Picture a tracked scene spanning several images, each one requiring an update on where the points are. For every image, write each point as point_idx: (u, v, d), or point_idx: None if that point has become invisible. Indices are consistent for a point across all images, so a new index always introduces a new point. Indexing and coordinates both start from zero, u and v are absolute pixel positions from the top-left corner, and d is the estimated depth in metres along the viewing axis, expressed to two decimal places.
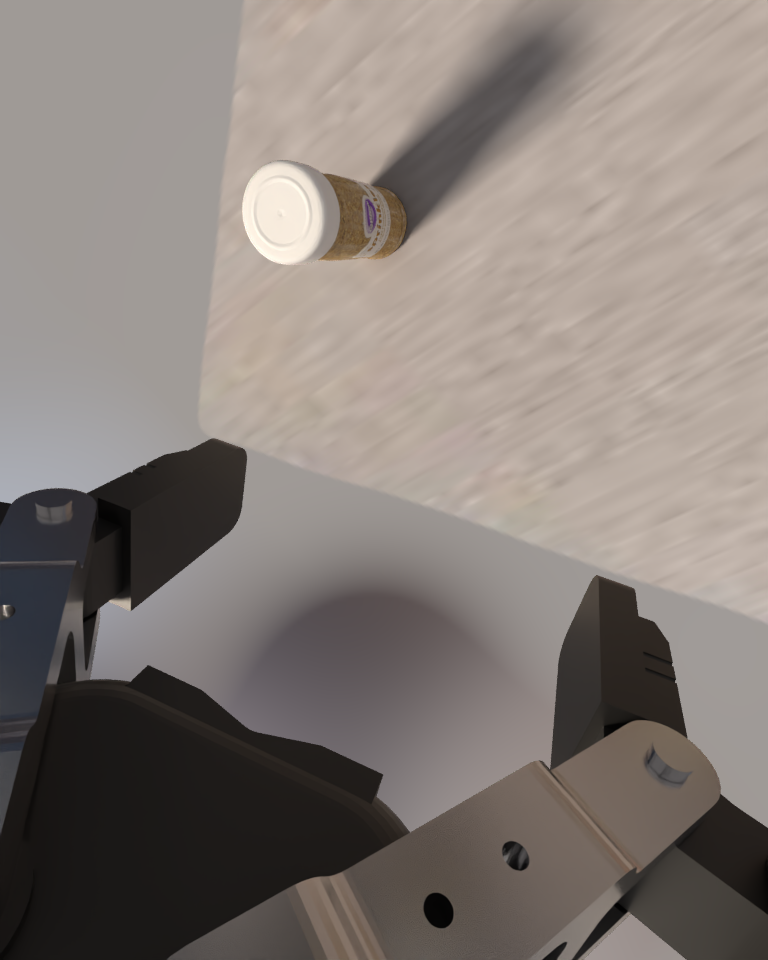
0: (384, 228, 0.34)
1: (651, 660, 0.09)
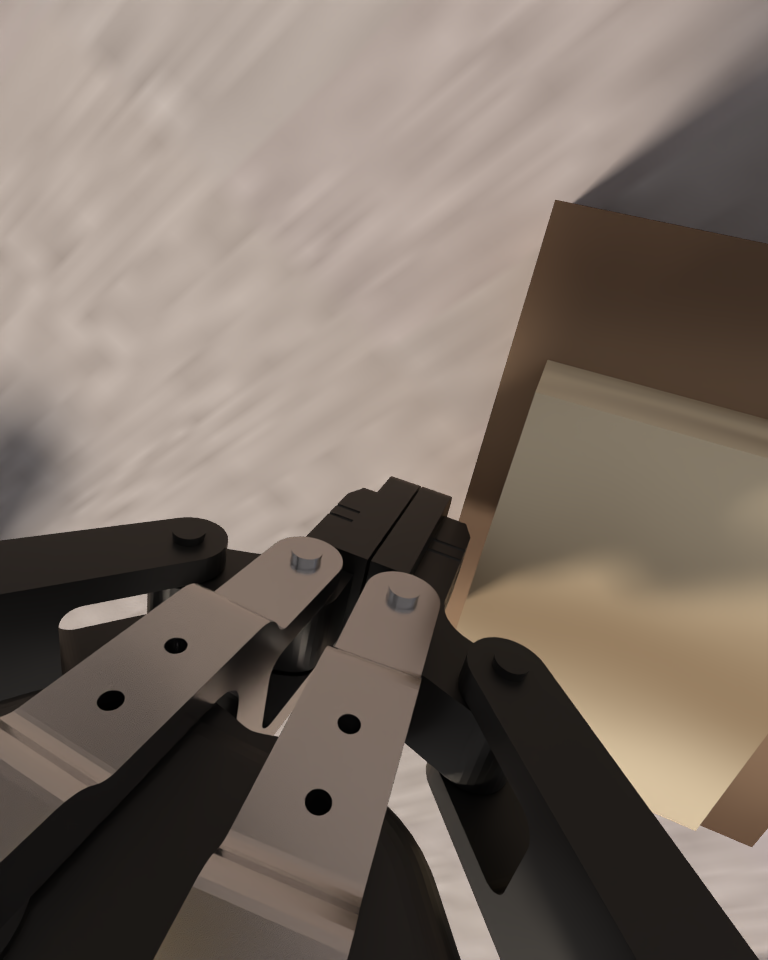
0: None
1: (446, 547, 0.11)
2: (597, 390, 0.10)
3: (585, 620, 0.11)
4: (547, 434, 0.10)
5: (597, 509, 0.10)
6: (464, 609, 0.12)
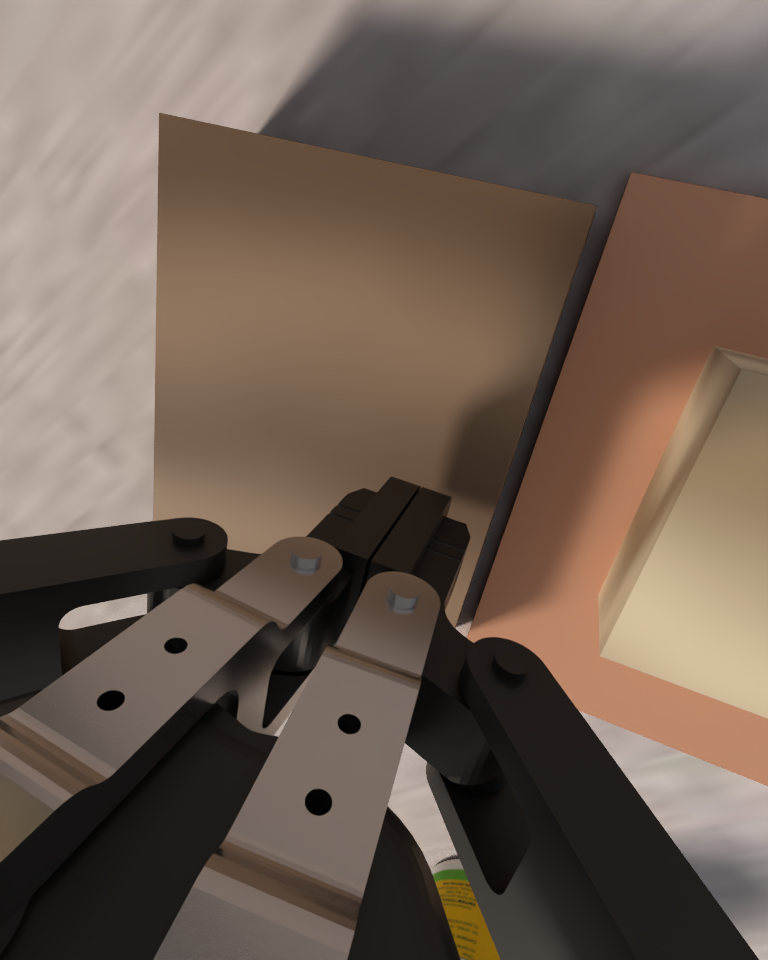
0: None
1: (446, 547, 0.11)
2: None
3: None
4: None
5: None
6: None
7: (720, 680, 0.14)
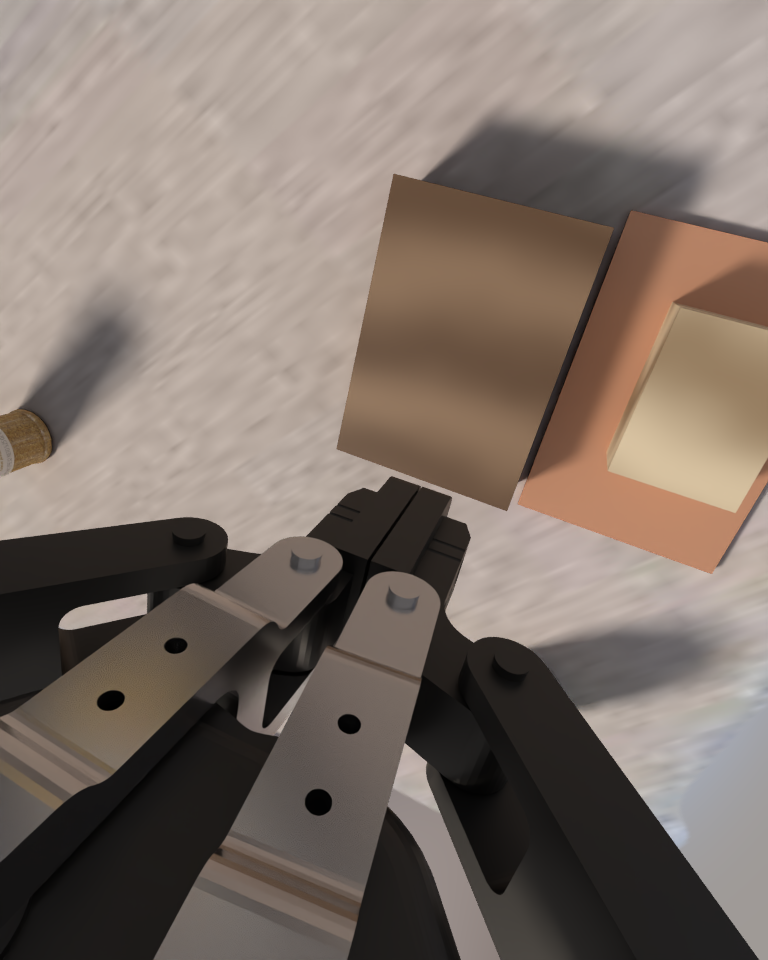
0: (0, 461, 0.41)
1: (446, 547, 0.11)
2: None
3: None
4: None
5: None
6: None
7: (671, 479, 0.27)
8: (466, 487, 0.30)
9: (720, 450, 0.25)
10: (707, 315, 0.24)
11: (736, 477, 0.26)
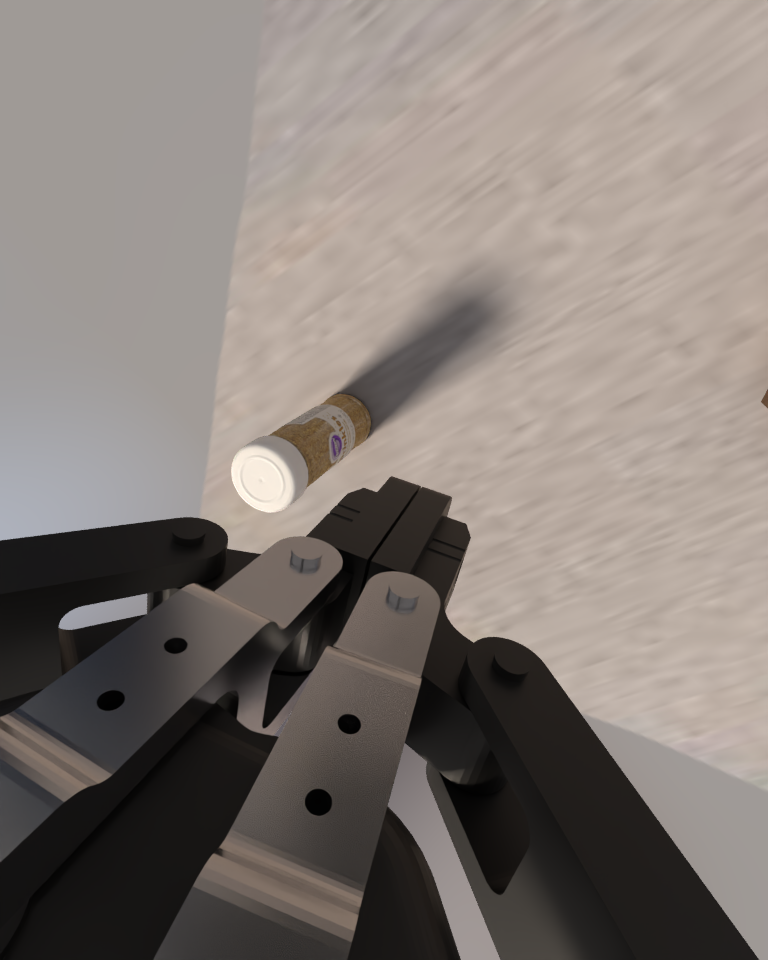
0: (349, 445, 0.41)
1: (446, 547, 0.11)
2: None
3: None
4: None
5: None
6: None
7: None
8: None
9: None
10: None
11: None
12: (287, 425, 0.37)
